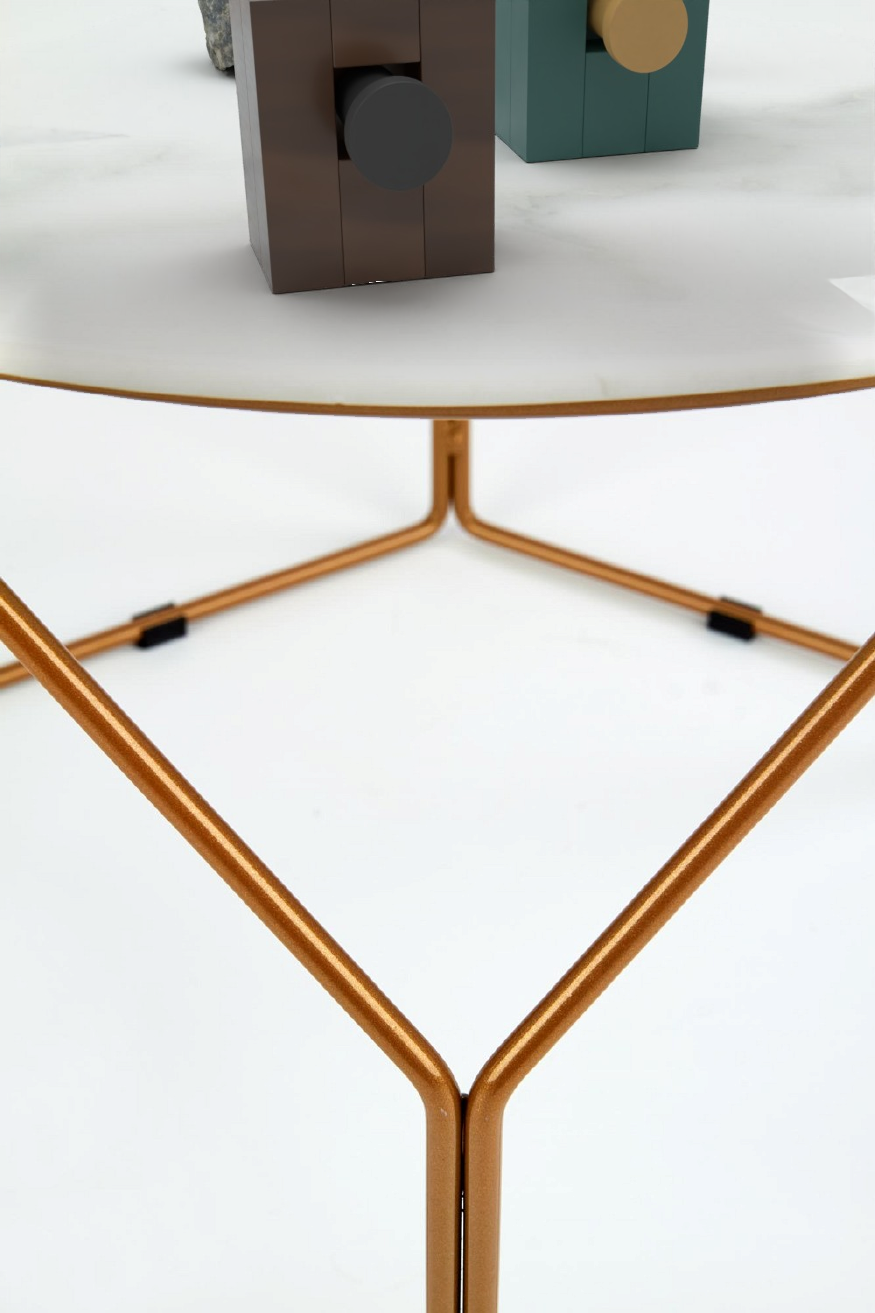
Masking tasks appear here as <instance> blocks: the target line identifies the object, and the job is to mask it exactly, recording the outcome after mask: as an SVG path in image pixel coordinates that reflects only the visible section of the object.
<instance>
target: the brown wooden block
mask: <svg viewBox="0 0 875 1313" xmlns="http://www.w3.org/2000/svg"><path fill="white" fill-rule="evenodd" d="M229 9H230V20H231V32H232V43H233V55H234V65H233V66H234V75H235V76H234V77H235V78H234V79H235V86H236V88H235V90H236V100H237V111H238V112H237V113H238V122H239V123H238V124H239V132H240V133H239V134H240V135H239V136H240V145H241V156H242V157H241V158H242V168H243V179H244V192H245V202H246V203H245V204H246V213H247V226H248V237H249V243H250V246H251V247H252V250H253V252H254V254H255V256H256V259H257V261H258V263H259V265H260V268H261V270H262V272H263V274H264V276H265V279H266V281H267V283H268V285H269V288H270V290H271V293H272V294H284V293H293V292H294V293H295V292H304V291H313V290H323V288H324V289H333V288H343V287H342V286H344V287H349V286H348V285H352V284H362V285H364V284H363V283H369V282H376V281H392V282H401V280H402V281H411V279H412V280H420V279H421V280H423V279H434V278H440V277H441V278H443V277H452V276H453V277H454V276H461V275H462V276H463V275H471V274H472V275H473V274H482V273H491V272H493V273H494V272H495V267H496V266H495V265H496V264H495V263H496V261H495V260H496V258H495V255H496V254H495V253H496V252H495V251H496V249H495V248H496V247H495V246H496V242H495V240H496V238H495V237H496V236H495V235H496V234H495V231H496V229H495V228H496V221H495V220H496V134H495V34H496V0H229ZM373 65H380V66H382V67H384V68H386V69H387V70H389V71H390V72H391V73H392V74H393V75H394V76H405V77H410V78H414V79H416V80H418V81H421V82H422V83H424V84H425V85H427V86H428V87H429V88H430V89H432V90H433V91H434V92H435V93H436V94H437V95H438V96H439V97H440V99H441V100H442V101H443V102H444V104H445V105H446V107H447V109H448V111H449V114H450V117H451V120H452V125H453V143H452V148H451V151H450V154H449V157H448V159H447V161H446V163H445V165H444V166H443V168H442V169H441V170H440V172H439V173H438V174H437V175H436V176H435V177H434V178H433V179H431V180H430V181H429V182H427V183H426V184H424V185H422V186H420V187H418V188H415V189H412V190H408V191H389V190H385V189H382V188H380V187H377V186H376V185H374V184H372V183H371V182H369V181H368V180H367V179H366V178H365V177H364V176H363V175H362V174H361V173H360V172H359V170H358V169H357V167H356V166H355V165H354V163H353V162H352V160H351V158H350V157H349V154H348V152H347V149H346V145H345V138H344V127H345V125H344V124H343V123H342V121H341V120H340V118H339V117H338V114H337V112H336V108H335V92H336V88H337V86H338V83H339V82H340V80H341V78H342V77H343V76H344V75H345V74H346V73H347V72H348V71H349V70H350V69H352V68H354V67H359V66H373ZM352 286H353V285H352Z"/></svg>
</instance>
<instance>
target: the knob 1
mask: <svg viewBox="0 0 875 1313" xmlns="http://www.w3.org/2000/svg"><path fill="white" fill-rule="evenodd" d="M335 108H336V112H337V114H338V117H339V118H340V120H341V121H342V123H343V124H344V125H345V127H344V138H345V145H346V149H347V152H348V154H349V157H350V158H351V160H352V162H353V163H354V165H355V166H356V167H357V169H358V170H359V172H360V173H361V174H362V175H363V176H364V177H365V178H366V179H367V180H368V181H369V182H371V183H372V184H374V185H376V186H377V187H380V188H382V189H385V190H389V191H408V190H412V189H415V188H418V187H420V186H422V185H424V184H426V183H427V182H429V181H430V180H431V179H433V178H434V177H435V176H436V175H437V174H438V173H439V172H440V170H441V169H442V168H443V166H444V165H445V163H446V161H447V159H448V157H449V154H450V151H451V148H452V143H453V125H452V120H451V117H450V114H449V111H448V109H447V107H446V105H445V104H444V102H443V101H442V100H441V99H440V97H439V96H438V95H437V94H436V93H435V92H434V91H433V90H432V89H430V88H429V87H428V86H427V85H425V84H424V83H422V82H421V81H418V80H416V79H414V78H410V77H405V76H394V75H393V74H392V73H391V72H390V71H389V70H387V69H386V68H384V67H382V66H380V65H373V66H359V67H354V68H352V69H350V70H349V71H348V72H347V73H346V74H345V75H344V76H343V77H342V78H341V80H340V82H339V83H338V86H337V88H336V92H335Z"/></svg>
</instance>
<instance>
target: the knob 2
mask: <svg viewBox="0 0 875 1313" xmlns="http://www.w3.org/2000/svg"><path fill="white" fill-rule="evenodd" d="M586 27H587V28H588V29H589V30H590V31H591V32H593V33H595V34H596V35H598V36H600V37H601V38H603V41H604V44H605V47H606V49H607V51H608V53H609V54H610V56H611V57H612V58H613V59H614V60H615V61H616V62H617V63H619V64H620V65H622V66H623V67H625V68H627V69H629V70H631V71H634V72H638V73H649V72H653V71H657V70H659V69H661V68H663V67H664V66H666V65H667V64H669V63H670V62H671V61H672V60H673V59H674V58H675V57H676V55H677V54H678V53H679V51H680V50H681V48H682V46H683V44H684V41H685V38H686V34H687V28H688V18H687V12H686V8H685V6H684V3H683V1H682V0H587V22H586Z"/></svg>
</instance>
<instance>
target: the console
mask: <svg viewBox="0 0 875 1313" xmlns="http://www.w3.org/2000/svg"><path fill="white" fill-rule="evenodd" d="M682 1H683V3H684V6H685V8H686V12H687V18H688V28H687V34H686V38H685V41H684V44H683V46H682V48H681V50H680V51H679V53H678V54H677V55H676V57H675V58H674V59H673V60H672V61H671V62H670V63H669V64H667V65H666V66H664V67H663V68H661V69H659V70H657V71H653V72H649V73H638V72H634V71H631V70H629V69H627V68H625V67H623V66H622V65H620V64H619V63H617V62H616V61H615V60H614V59H613V58H612V57H611V56H610V54H609V53H608V51H607V49H606V47H605V44H604V41H603V38H601V37H600V36H598V35H596V34H595V33H593V32H591V31H590V30H589V29H588V28H587V27H586V22H587V0H496V34H495V136H497V137H498V138H499V139H500V140H501V141H502V142H504V143H505V144H506V145H507V146H508V147H509V148H510V149H511V150H512V151H513V152H515V154H517V156H519V157H520V158H521V159H522V161H524V162H525V163H537V162H547V161H548V162H549V161H560V160H572V159H581V158H594V157H604V156H606V157H607V156H616V155H617V156H618V155H629V154H640V153H651V152H652V153H653V152H665V151H674V150H686V149H697V148H699V145H700V144H699V143H700V142H699V141H700V132H701V131H700V130H701V118H702V105H703V104H702V103H703V93H704V92H703V91H704V77H705V67H706V55H707V54H706V52H707V40H708V37H707V36H708V28H709V27H708V26H709V14H710V3H711V2H710V0H682Z"/></svg>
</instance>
